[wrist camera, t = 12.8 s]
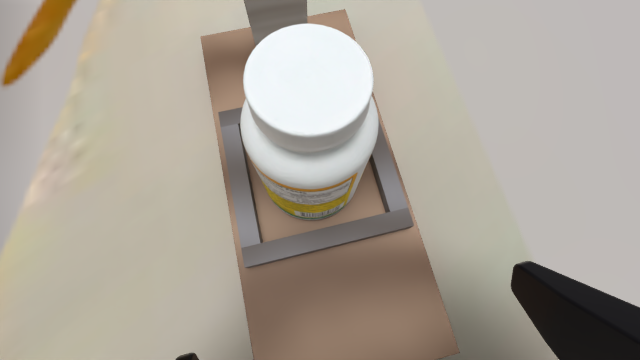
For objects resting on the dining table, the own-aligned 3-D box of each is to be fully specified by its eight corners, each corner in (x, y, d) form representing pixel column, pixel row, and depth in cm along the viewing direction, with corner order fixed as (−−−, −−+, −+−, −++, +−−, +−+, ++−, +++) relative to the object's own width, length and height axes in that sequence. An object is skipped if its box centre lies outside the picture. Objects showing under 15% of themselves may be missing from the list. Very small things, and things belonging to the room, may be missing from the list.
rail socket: (451, 348, 17) (537, 390, 11) (265, 401, 16) (230, 482, 10) (343, 20, 24) (354, -84, 17) (205, 46, 23) (159, -51, 16)
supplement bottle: (319, 241, 18) (322, 198, 9) (246, 183, 19) (179, 89, 10) (375, 168, 19) (430, 64, 10) (304, 117, 20) (295, -21, 11)
